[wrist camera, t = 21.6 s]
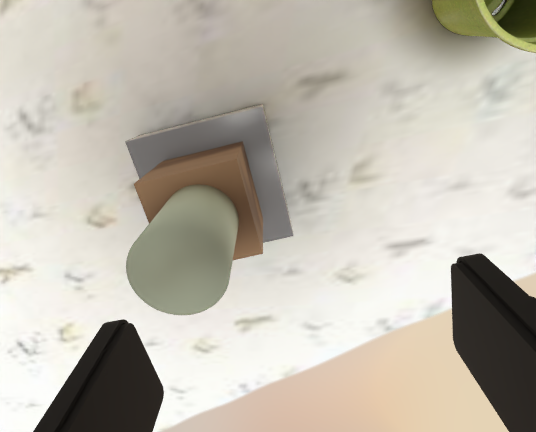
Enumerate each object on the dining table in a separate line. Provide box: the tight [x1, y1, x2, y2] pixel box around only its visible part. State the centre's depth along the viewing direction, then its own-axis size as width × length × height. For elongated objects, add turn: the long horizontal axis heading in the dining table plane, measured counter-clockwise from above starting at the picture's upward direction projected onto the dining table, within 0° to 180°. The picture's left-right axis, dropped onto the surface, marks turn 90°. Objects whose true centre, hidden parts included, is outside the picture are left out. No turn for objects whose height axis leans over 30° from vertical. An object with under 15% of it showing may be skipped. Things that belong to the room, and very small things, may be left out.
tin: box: [126, 184, 239, 315], centre depth 18 cm, size 4×4×6 cm
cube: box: [134, 141, 263, 260], centre depth 24 cm, size 6×6×6 cm
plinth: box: [126, 104, 293, 243], centre depth 28 cm, size 10×10×3 cm
